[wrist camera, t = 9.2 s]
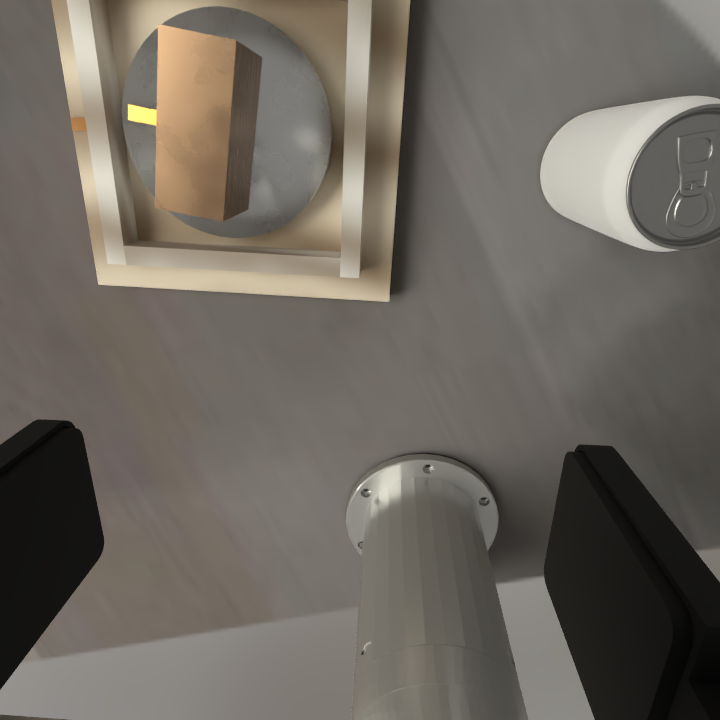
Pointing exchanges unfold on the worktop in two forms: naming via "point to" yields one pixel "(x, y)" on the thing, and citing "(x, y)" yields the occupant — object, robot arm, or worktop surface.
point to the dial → (227, 122)
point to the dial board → (306, 230)
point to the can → (640, 172)
